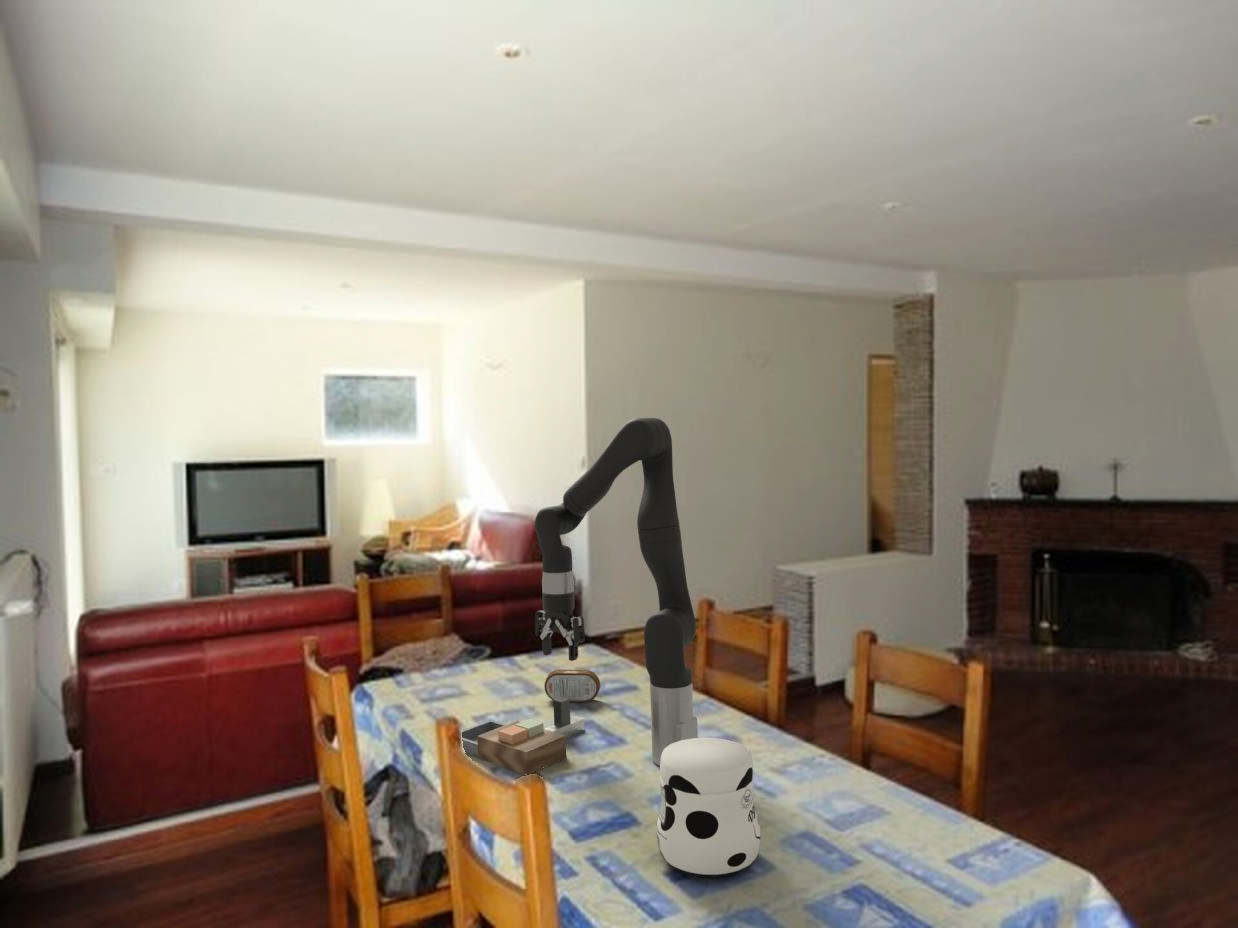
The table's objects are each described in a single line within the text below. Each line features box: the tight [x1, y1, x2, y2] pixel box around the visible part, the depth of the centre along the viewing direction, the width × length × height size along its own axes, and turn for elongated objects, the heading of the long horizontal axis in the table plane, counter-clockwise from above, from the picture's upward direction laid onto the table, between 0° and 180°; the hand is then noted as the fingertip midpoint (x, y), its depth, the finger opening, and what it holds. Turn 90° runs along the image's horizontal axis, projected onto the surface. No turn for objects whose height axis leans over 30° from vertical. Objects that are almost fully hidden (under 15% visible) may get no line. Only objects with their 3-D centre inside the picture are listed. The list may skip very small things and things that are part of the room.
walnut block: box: [477, 720, 568, 776], centre depth 186 cm, size 16×12×5 cm
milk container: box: [656, 737, 761, 878], centre depth 139 cm, size 17×17×18 cm
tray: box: [461, 719, 507, 759], centre depth 195 cm, size 10×12×3 cm
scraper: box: [544, 697, 586, 739], centre depth 198 cm, size 3×12×9 cm, turn 139°
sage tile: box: [515, 718, 545, 737], centre depth 188 cm, size 4×4×2 cm
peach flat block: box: [498, 725, 527, 744], centre depth 184 cm, size 4×4×2 cm
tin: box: [543, 669, 601, 703], centre depth 224 cm, size 15×3×8 cm, turn 84°
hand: (560, 657), depth 198 cm, fingers open, 8 cm apart
